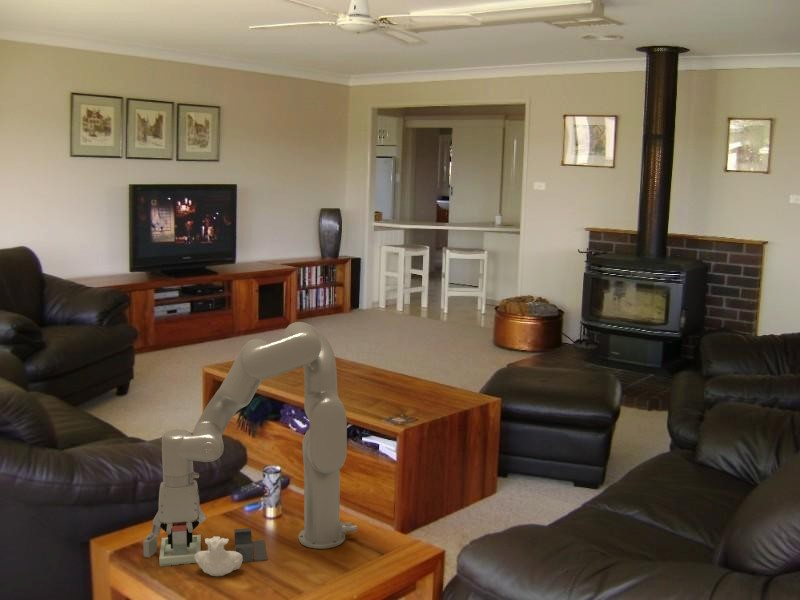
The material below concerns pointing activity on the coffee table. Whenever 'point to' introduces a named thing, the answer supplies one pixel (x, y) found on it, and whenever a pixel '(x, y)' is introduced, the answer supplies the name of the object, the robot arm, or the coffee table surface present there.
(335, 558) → the coffee table surface
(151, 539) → the lighter
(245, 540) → the bracket
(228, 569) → the white rounded irregular piece
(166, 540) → the tray
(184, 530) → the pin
